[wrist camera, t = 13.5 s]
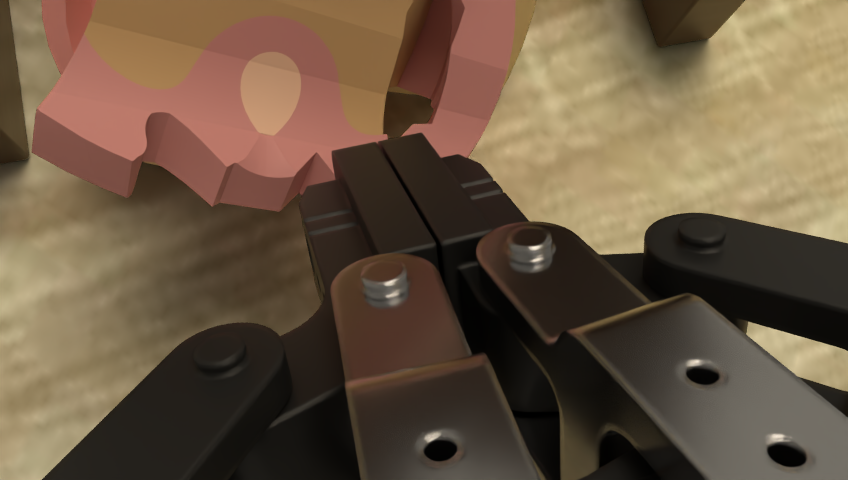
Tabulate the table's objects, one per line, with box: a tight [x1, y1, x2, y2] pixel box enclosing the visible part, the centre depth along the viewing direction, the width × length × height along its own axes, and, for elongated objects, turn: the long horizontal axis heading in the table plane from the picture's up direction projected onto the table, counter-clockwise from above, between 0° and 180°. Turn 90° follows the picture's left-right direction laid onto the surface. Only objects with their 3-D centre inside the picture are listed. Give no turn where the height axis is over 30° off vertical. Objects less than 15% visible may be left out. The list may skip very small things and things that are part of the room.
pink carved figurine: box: [32, 0, 536, 212], centre depth 15 cm, size 9×10×10 cm
